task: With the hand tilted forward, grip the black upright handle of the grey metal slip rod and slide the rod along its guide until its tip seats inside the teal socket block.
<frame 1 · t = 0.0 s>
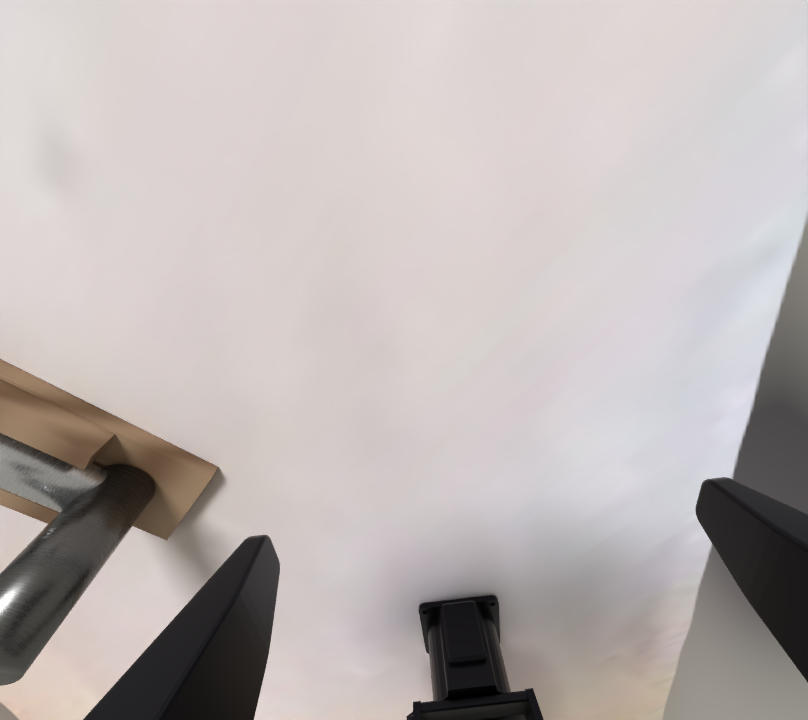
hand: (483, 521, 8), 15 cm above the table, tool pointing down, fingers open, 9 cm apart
guide: (48, 431, 24), on the table
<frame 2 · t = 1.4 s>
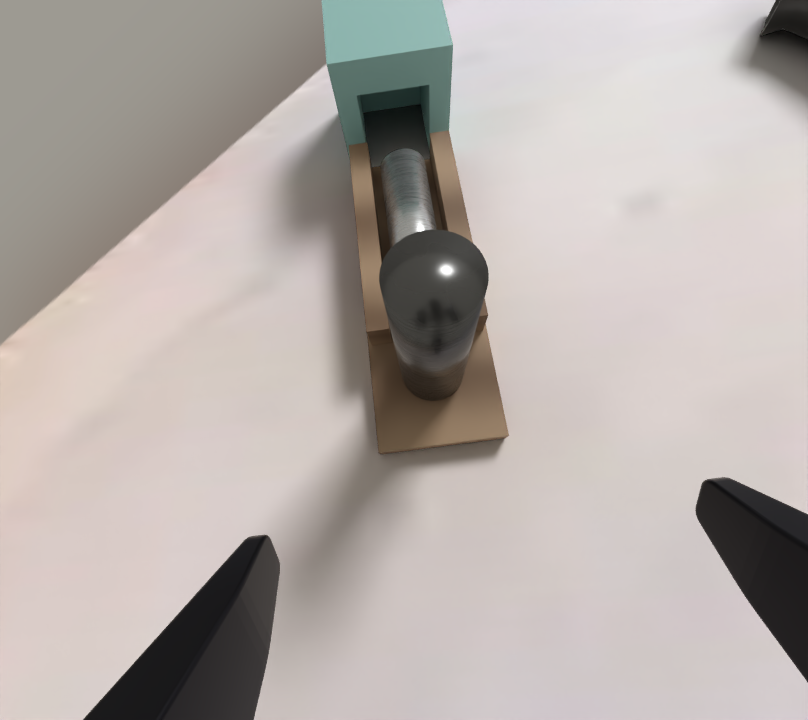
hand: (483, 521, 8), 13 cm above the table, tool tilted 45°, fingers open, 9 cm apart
slip rod: (415, 227, 19), point 6 cm above the table, slide at 0.0 cm
socket block: (394, 127, 29), on the table
guide: (419, 292, 24), on the table
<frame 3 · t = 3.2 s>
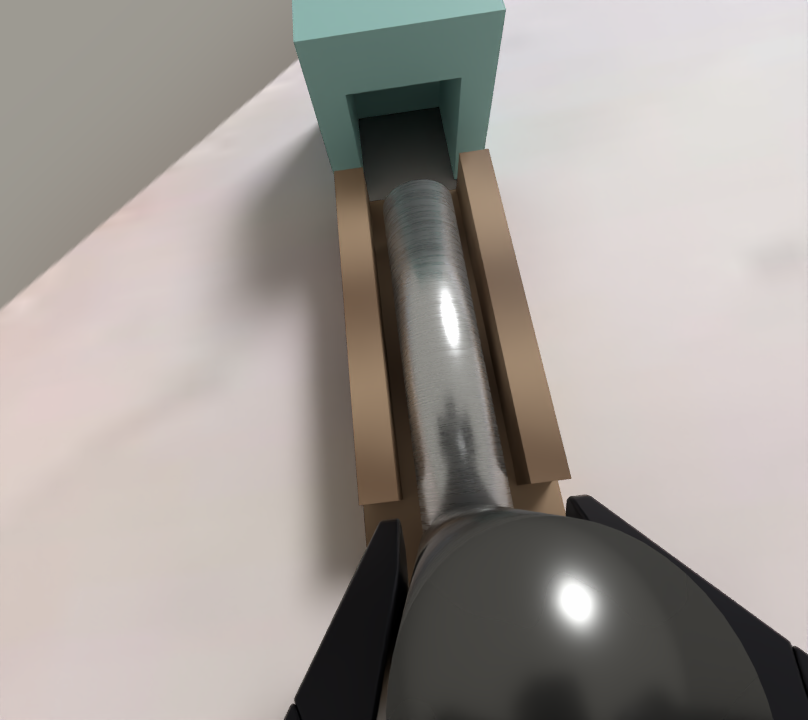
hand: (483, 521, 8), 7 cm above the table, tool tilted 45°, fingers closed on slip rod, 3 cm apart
slip rod: (450, 342, 10), point 6 cm above the table, slide at 0.0 cm, touching gripper
socket block: (402, 140, 20), on the table
guide: (443, 401, 16), on the table
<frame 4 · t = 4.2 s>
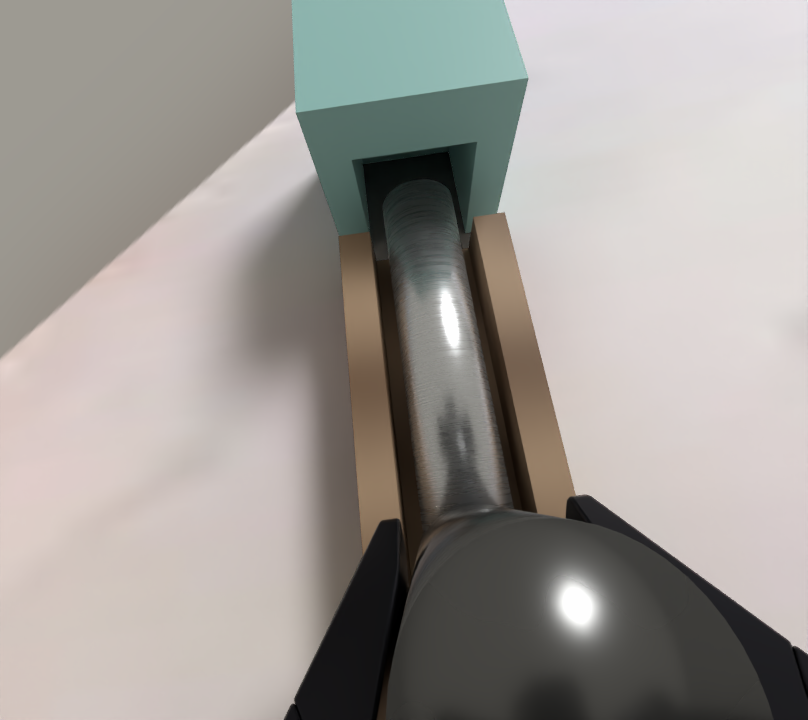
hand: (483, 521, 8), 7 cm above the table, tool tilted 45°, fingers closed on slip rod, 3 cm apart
slip rod: (450, 342, 10), point 6 cm above the table, slide at 3.2 cm, touching gripper
socket block: (410, 189, 19), on the table
guide: (456, 485, 15), on the table
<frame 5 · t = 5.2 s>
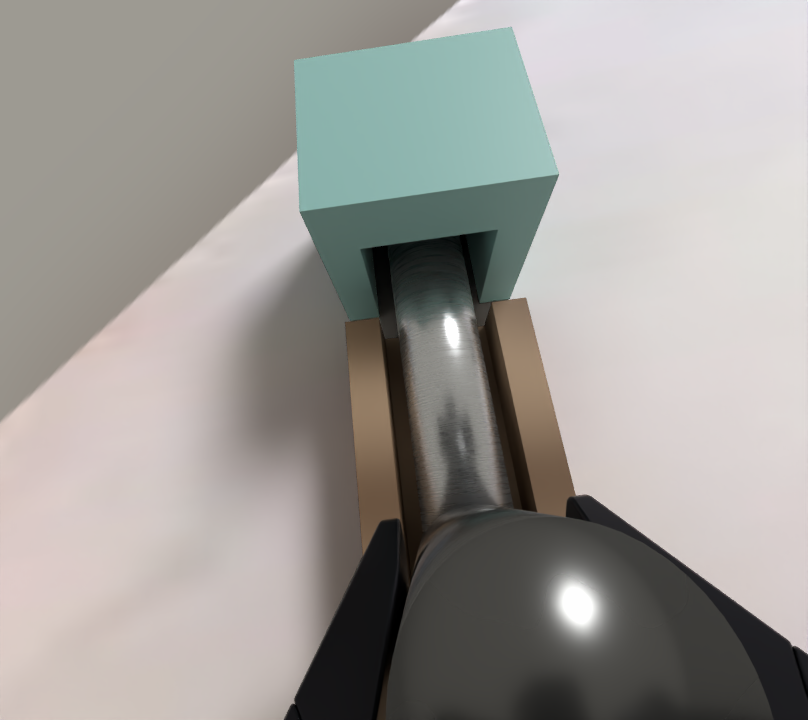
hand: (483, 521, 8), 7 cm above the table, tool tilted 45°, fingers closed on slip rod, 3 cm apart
slip rod: (450, 342, 10), point 6 cm above the table, slide at 6.9 cm, touching gripper
socket block: (420, 252, 18), on the table
guide: (474, 596, 13), on the table
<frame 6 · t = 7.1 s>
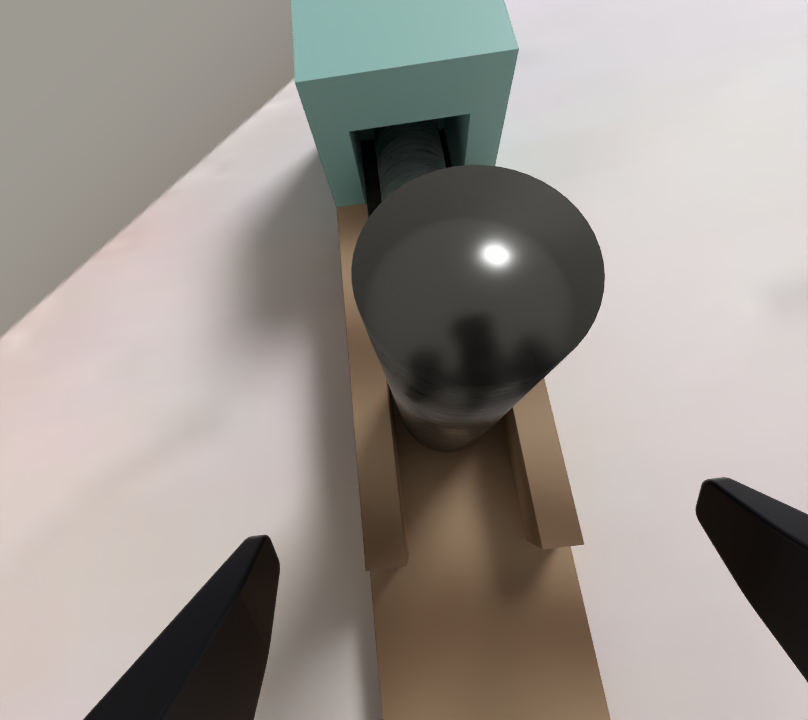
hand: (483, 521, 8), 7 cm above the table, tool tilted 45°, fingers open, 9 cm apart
slip rod: (423, 189, 12), point 6 cm above the table, slide at 6.9 cm
socket block: (406, 165, 20), on the table
guide: (450, 446, 15), on the table
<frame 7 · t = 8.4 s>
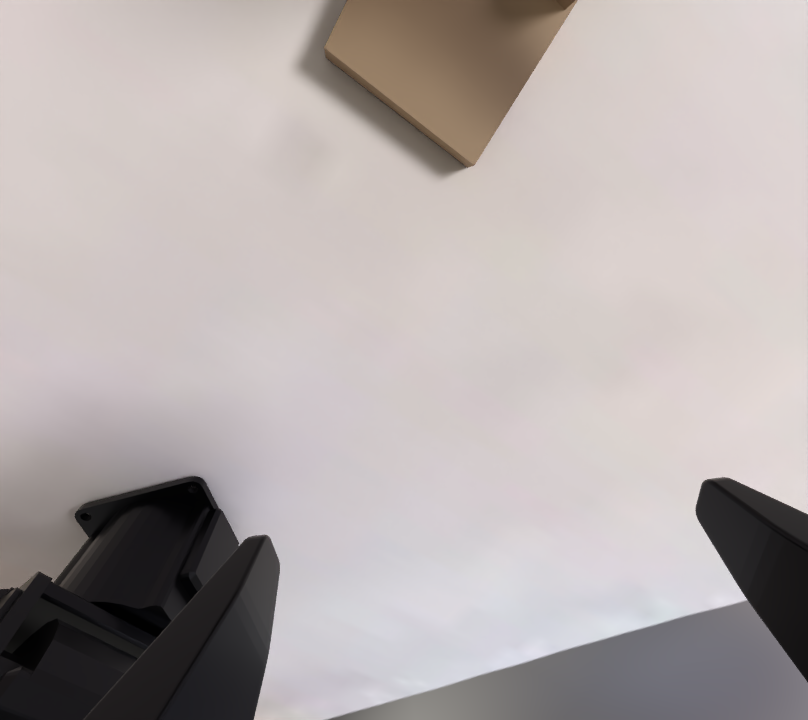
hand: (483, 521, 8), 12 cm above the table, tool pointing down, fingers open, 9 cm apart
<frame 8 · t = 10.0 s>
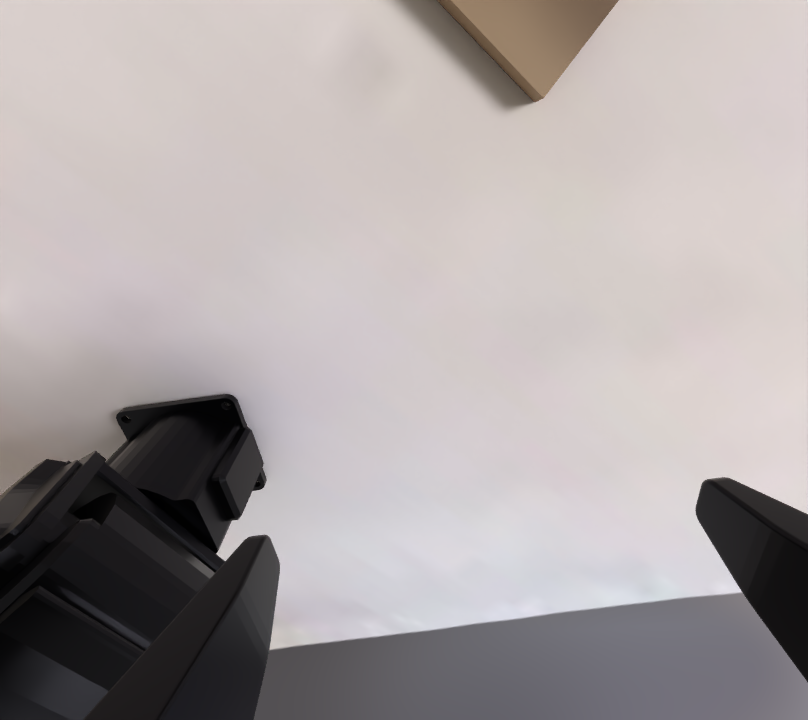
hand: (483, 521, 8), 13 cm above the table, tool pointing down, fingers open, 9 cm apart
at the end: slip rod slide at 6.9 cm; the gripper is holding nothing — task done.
